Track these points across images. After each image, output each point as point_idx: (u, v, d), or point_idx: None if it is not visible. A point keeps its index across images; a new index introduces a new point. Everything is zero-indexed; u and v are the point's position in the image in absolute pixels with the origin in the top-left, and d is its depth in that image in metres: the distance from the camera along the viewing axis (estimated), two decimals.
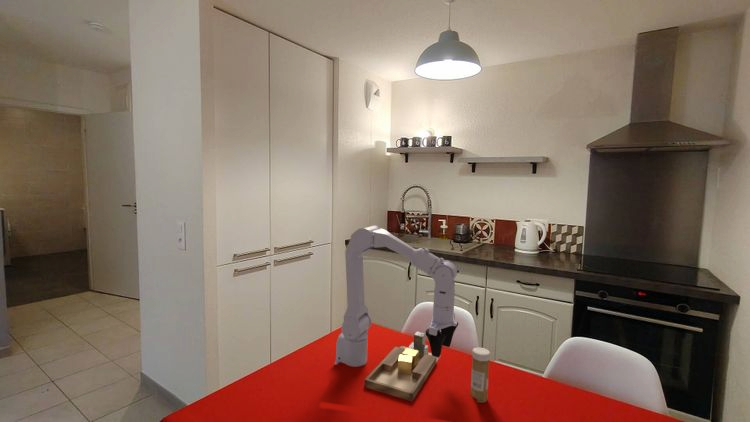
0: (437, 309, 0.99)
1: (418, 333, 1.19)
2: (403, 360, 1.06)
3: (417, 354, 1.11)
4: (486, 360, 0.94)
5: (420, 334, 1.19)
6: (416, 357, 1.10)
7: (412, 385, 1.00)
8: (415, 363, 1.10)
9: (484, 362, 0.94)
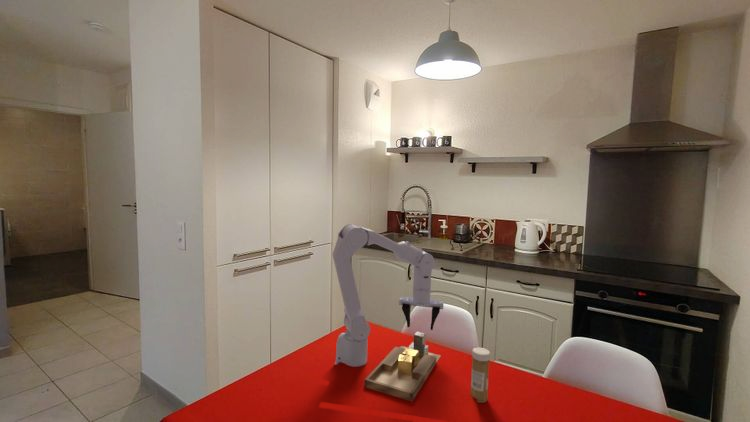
0: None
1: (418, 333, 1.19)
2: (403, 360, 1.06)
3: (417, 354, 1.11)
4: (486, 360, 0.94)
5: (420, 334, 1.19)
6: (416, 357, 1.10)
7: (412, 385, 1.00)
8: (415, 363, 1.10)
9: (484, 362, 0.94)
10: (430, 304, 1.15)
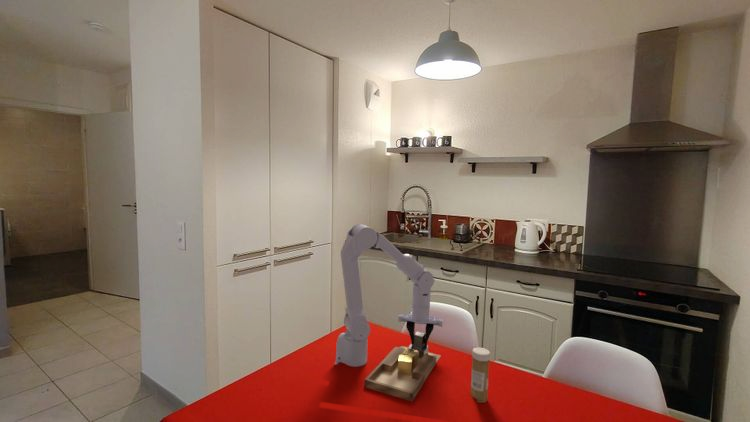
0: None
1: (418, 333, 1.19)
2: (403, 360, 1.06)
3: (417, 354, 1.11)
4: (486, 360, 0.94)
5: (420, 334, 1.19)
6: (416, 357, 1.10)
7: (412, 385, 1.00)
8: (415, 363, 1.10)
9: (484, 362, 0.94)
10: (429, 321, 1.16)
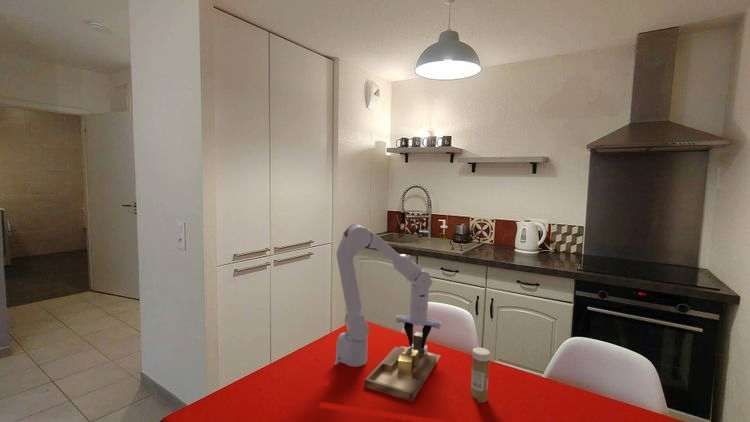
0: None
1: (417, 333, 1.19)
2: (403, 360, 1.06)
3: (417, 354, 1.11)
4: (486, 360, 0.94)
5: (420, 334, 1.19)
6: (416, 357, 1.10)
7: (412, 385, 1.00)
8: (415, 363, 1.10)
9: (484, 362, 0.94)
10: (426, 323, 1.13)
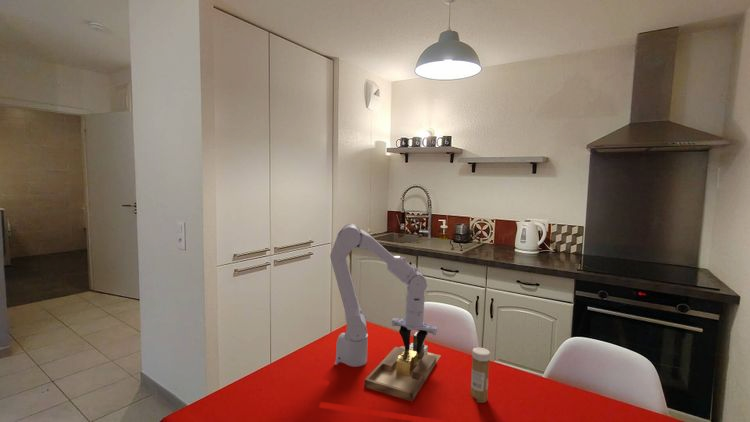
0: None
1: None
2: (402, 361, 1.05)
3: (416, 355, 1.10)
4: (486, 360, 0.94)
5: None
6: (415, 358, 1.10)
7: (412, 385, 1.00)
8: (414, 364, 1.09)
9: (484, 362, 0.94)
10: (421, 328, 1.09)
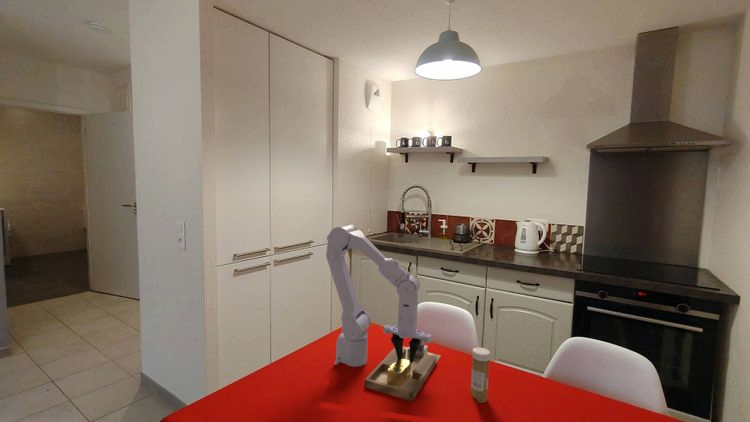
0: None
1: None
2: (393, 370, 1.00)
3: (409, 365, 1.04)
4: (486, 360, 0.94)
5: None
6: (408, 368, 1.04)
7: (412, 385, 1.00)
8: (407, 374, 1.03)
9: (484, 362, 0.94)
10: (414, 336, 1.03)
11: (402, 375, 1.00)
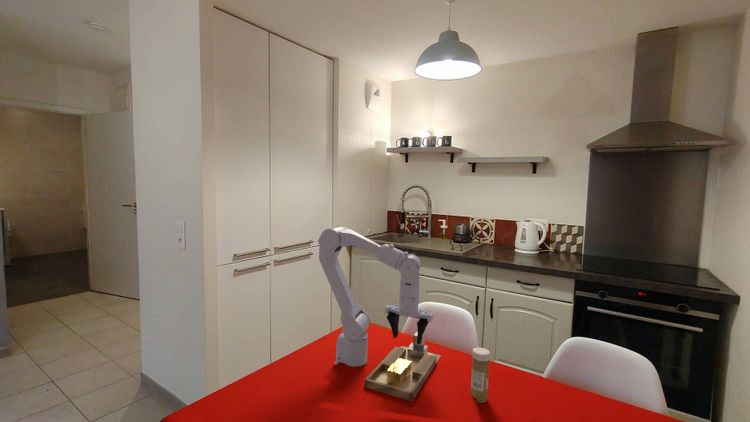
0: None
1: (417, 333, 1.19)
2: (392, 370, 1.00)
3: (409, 365, 1.04)
4: (486, 360, 0.94)
5: None
6: (408, 368, 1.04)
7: (412, 385, 1.00)
8: (407, 375, 1.03)
9: (484, 362, 0.93)
10: (416, 315, 1.04)
11: (402, 375, 1.00)
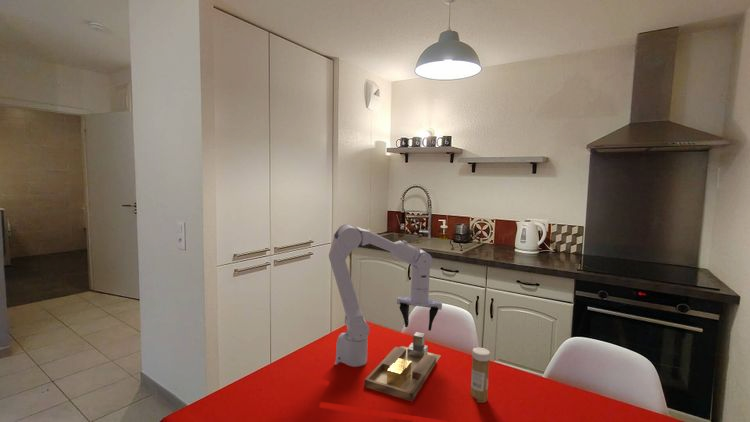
0: None
1: (417, 333, 1.19)
2: (392, 370, 1.00)
3: (409, 365, 1.04)
4: (486, 360, 0.94)
5: (420, 334, 1.18)
6: (408, 368, 1.04)
7: (412, 385, 1.00)
8: (407, 375, 1.03)
9: (484, 362, 0.94)
10: (428, 304, 1.13)
11: (402, 375, 1.00)
